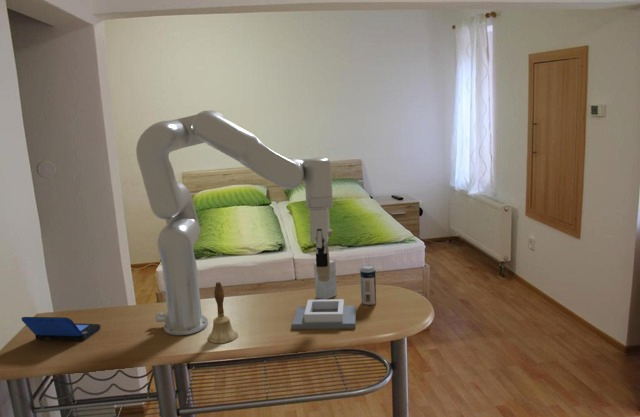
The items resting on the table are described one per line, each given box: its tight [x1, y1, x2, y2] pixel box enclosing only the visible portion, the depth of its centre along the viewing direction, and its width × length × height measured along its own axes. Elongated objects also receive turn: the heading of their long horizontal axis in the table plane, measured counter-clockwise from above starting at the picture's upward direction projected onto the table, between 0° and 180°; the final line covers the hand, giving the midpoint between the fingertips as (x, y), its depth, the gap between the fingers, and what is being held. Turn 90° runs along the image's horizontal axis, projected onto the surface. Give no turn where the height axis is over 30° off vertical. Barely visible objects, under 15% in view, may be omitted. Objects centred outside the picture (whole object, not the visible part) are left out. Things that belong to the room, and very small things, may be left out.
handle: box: [316, 228, 333, 282], centre depth 147 cm, size 5×6×15 cm
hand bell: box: [207, 281, 239, 344], centre depth 142 cm, size 8×8×16 cm
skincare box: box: [313, 259, 338, 300], centre depth 168 cm, size 6×4×12 cm
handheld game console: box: [21, 316, 101, 342], centre depth 148 cm, size 16×13×9 cm
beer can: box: [359, 264, 377, 306], centre depth 161 cm, size 5×5×12 cm
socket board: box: [291, 298, 357, 330], centre depth 151 cm, size 18×13×4 cm
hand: (322, 263), depth 148 cm, fingers closed on handle, 3 cm apart
